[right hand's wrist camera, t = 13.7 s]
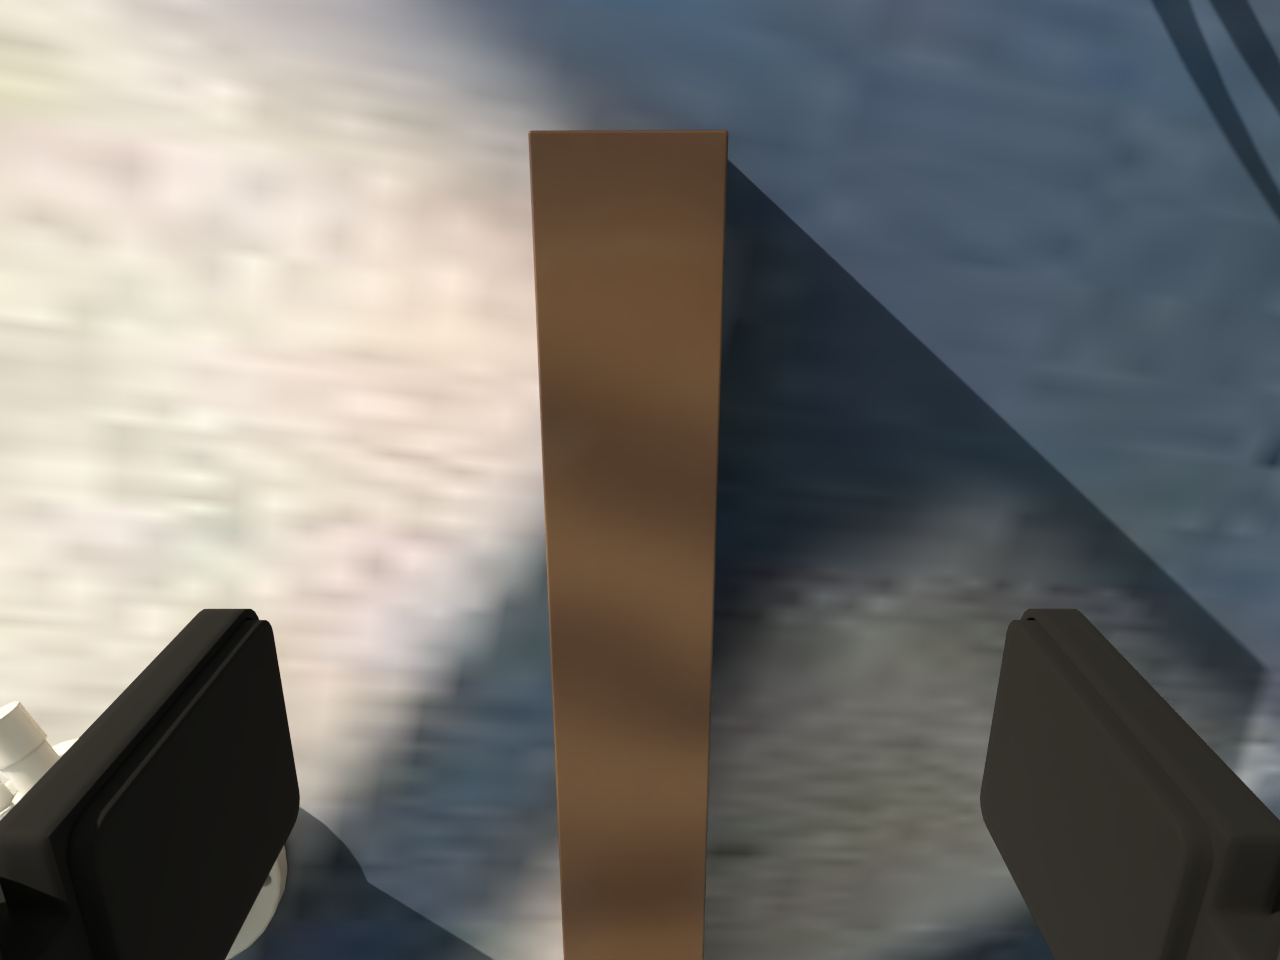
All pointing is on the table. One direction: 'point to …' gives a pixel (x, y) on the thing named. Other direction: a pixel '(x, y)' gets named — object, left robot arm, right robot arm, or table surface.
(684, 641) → the post
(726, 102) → the table surface
